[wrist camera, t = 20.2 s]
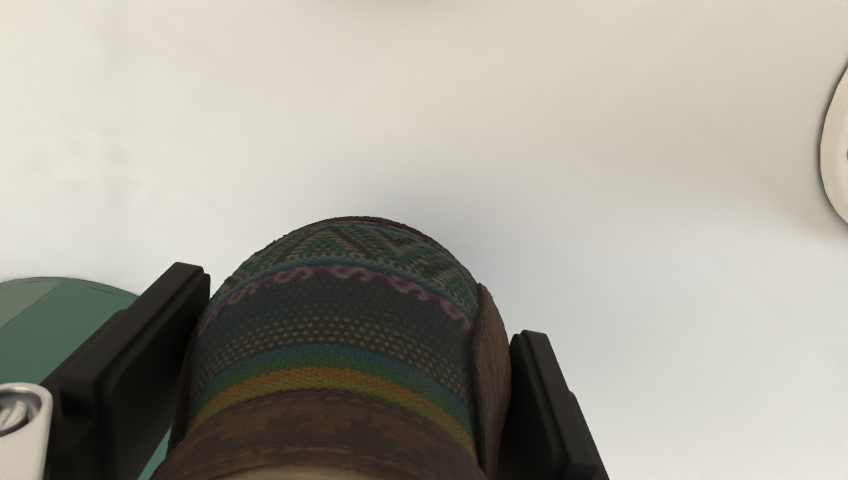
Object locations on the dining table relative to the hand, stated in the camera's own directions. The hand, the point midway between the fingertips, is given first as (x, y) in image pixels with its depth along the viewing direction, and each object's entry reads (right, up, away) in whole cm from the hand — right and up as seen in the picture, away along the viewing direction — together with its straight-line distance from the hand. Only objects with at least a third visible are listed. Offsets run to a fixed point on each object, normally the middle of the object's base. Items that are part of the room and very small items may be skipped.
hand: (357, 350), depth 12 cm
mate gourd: (0, +1, +2) cm, 3 cm away
